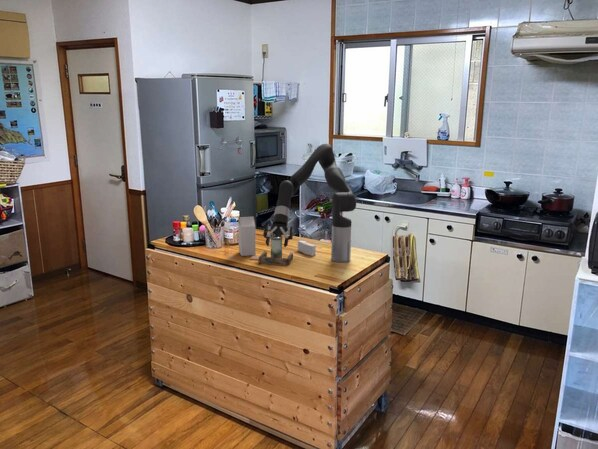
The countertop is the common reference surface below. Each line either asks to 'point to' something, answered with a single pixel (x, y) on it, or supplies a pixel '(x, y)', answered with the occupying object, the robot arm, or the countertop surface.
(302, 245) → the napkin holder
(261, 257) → the dock
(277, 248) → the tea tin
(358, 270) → the countertop surface
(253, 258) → the terracotta tag
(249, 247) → the milk carton
